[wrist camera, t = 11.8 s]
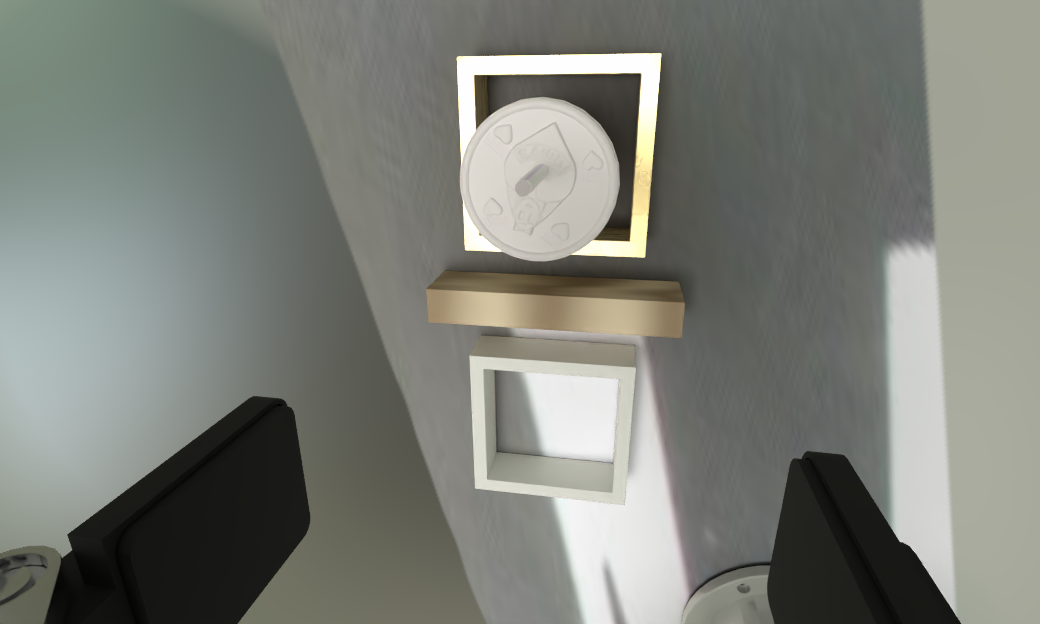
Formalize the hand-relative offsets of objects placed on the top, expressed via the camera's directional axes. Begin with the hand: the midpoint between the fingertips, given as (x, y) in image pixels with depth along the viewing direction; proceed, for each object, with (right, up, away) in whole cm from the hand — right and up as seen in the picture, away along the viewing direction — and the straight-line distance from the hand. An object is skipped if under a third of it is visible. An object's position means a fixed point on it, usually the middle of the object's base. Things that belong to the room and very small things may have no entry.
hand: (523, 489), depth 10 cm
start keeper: (+2, -3, +26) cm, 26 cm away
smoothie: (+2, +12, +20) cm, 24 cm away
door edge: (+2, +5, +23) cm, 24 cm away
